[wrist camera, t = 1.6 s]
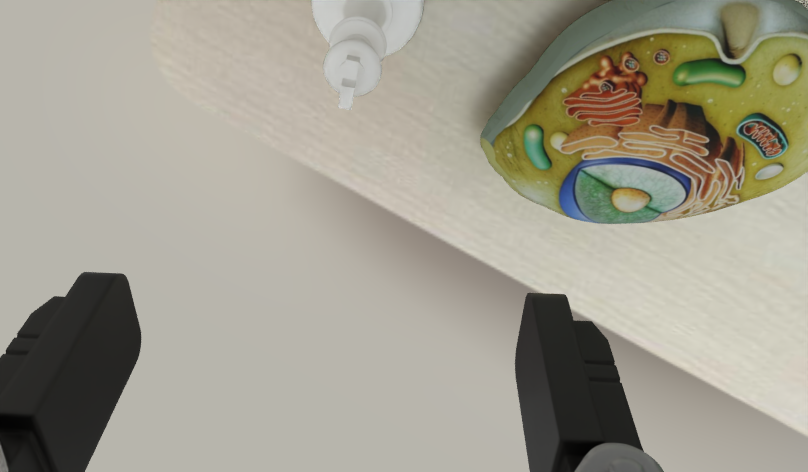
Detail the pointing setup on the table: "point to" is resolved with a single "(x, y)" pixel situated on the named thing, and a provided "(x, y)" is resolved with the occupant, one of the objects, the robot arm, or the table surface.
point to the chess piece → (362, 40)
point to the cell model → (659, 110)
